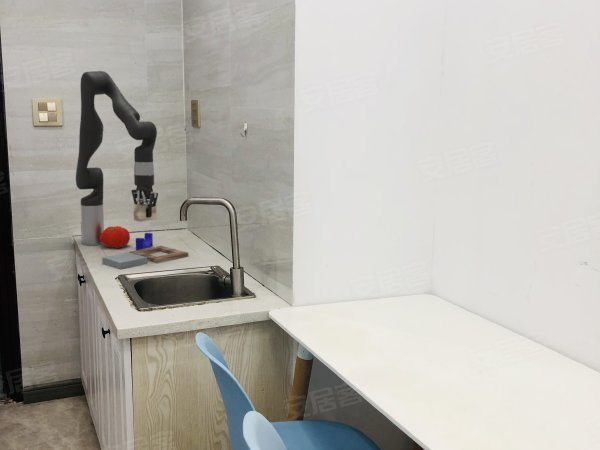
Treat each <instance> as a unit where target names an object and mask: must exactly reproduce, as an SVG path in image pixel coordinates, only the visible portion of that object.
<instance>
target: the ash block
mask: <svg viewBox="0 0 600 450" xmlns="http://www.w3.org/2000/svg"><path fill="white" fill-rule="evenodd" d="M148 205H149V202H148ZM132 206H133V207H132V209H133V211H132V212H133V221H135V222H140V223H141V222H148V221H154V220H157V205H156V206H155V207H152V216H151V217H150V218H147V217H146V205H145V203H144V204H139V205H135V204H133V205H132Z"/></svg>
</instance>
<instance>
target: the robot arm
mask: <svg viewBox="0 0 600 450" xmlns="http://www.w3.org/2000/svg"><path fill="white" fill-rule="evenodd" d="M79 87H80V123H79V135H78V137H79V145H78V157H77V164H76V169H75V170H76V171H75V183H76V187H77V188H78V190H92V192H90V193H88V194H87V195H85V196H83V197H81V199H80V213H81V214H80V216H81V217H80V219H81V221H80V233H81V237H80V238H81V244H82V245H84V246H85V245H86V246H97V245H98V246H99V244H100V245H102V244H103V243H102V242H101V241H100V235H101V233H102V232H103V231H104V230H105V222H104V221H105V220H104V219H105V218H104V217H105V216H104V172H103V170H102V169H101V167H88V164H89V162H90V159H91V158H92V157H93V155H94V154H95V153H96V152H97V150H98V149H99V147H100V146H101V144H102V143H103V137H104V124H103V122H102V119H101V118H100V116H99V114H98V112H97V111H96V106H95V96H99V95H106V96H107V97H109V98H110V101H111V104H112V105H111V106H112V111H113V112H114V115H115V116H116V117H117V118H118V119H119V120H120V121H121V122H122V123H123V124H124V126H125V129H126V131H127V133H128V135H129V136H130V137H131V138H132V139H133V140H136V141H141V144H140V145H138V146H136V147H135V148H134V149H133V150H134V153H133V156H134V165H133V177H134V186H135V187H136V188H135V189H131V196H132V200H133V205H139V204H145V205H146V217H147V218H150V217H151V216H152V207H155V206H156V207H157V202H158V197H159V193H158V192H156V191H154V190H153V186H155V167H154V148H155V145H156V140H157V135H158V131H157V127H156V125H155V123H153V122H152V121H140V120H141V115H140V113H139V112H138V111H137V110H136V108H135V107H133V106H132V104H131V103H129V102H128V100H127V99H126V97H125V96H124V95H123V93H122V92H121V90H120V89H119V87H118V85H117V84H116V83H115V81H114V80H113V78H112V77H111V75H110V74H108V72H106V71H103V70H97V71H92V70H91V71H85V72H83V73H82V75H81V77H80V86H79ZM148 203H149V205H148ZM103 245H104V244H103Z"/></svg>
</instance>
